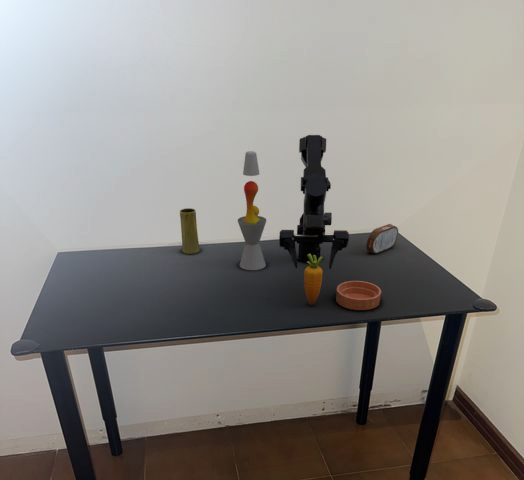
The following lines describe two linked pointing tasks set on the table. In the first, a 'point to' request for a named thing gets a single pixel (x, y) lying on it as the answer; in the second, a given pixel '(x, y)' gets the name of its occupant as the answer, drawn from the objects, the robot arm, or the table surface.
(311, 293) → the carrot
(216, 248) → the table surface
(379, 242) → the tin
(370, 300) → the bowl
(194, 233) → the vase
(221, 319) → the table surface
